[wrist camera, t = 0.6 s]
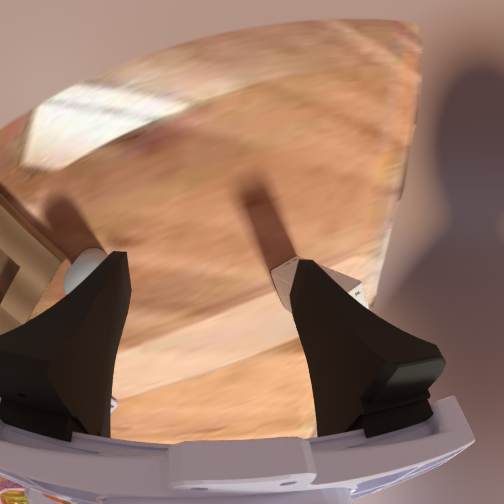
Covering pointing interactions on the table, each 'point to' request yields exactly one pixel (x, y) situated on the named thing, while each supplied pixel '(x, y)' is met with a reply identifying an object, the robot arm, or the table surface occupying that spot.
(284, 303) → the skincare box
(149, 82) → the table surface
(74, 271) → the peg
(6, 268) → the walnut socket block
